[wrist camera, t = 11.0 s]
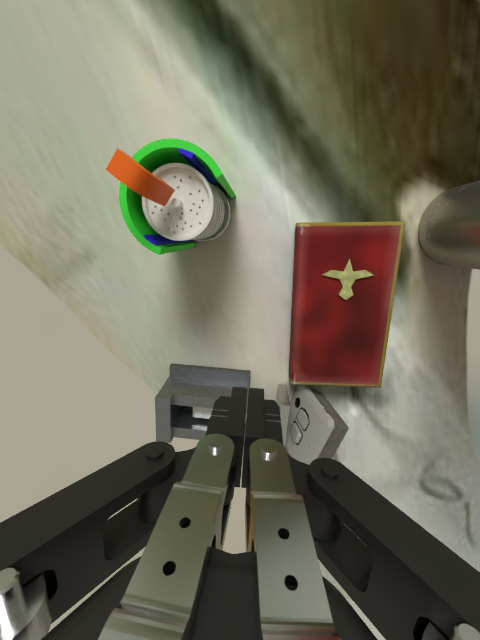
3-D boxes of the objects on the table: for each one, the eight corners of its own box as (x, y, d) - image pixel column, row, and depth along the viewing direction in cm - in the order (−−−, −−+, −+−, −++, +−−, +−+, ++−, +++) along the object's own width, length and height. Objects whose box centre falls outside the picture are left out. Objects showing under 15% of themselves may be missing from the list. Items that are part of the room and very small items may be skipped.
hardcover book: (287, 371, 43) (290, 385, 39) (294, 224, 37) (298, 222, 33) (370, 373, 42) (381, 388, 38) (390, 223, 36) (406, 221, 32)
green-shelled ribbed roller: (212, 257, 39) (172, 275, 21) (159, 228, 38) (73, 223, 21) (244, 192, 36) (227, 152, 19) (187, 160, 36) (116, 89, 18)
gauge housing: (250, 370, 43) (247, 395, 36) (245, 427, 46) (242, 460, 39) (171, 363, 44) (154, 386, 37) (171, 419, 46) (156, 450, 40)
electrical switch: (300, 378, 43) (316, 418, 34) (331, 388, 43) (355, 430, 35) (277, 428, 46) (286, 477, 37) (307, 436, 46) (323, 486, 37)
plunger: (286, 384, 43) (291, 417, 35) (281, 424, 45) (285, 464, 37) (198, 376, 43) (184, 406, 36) (197, 416, 45) (184, 453, 38)
